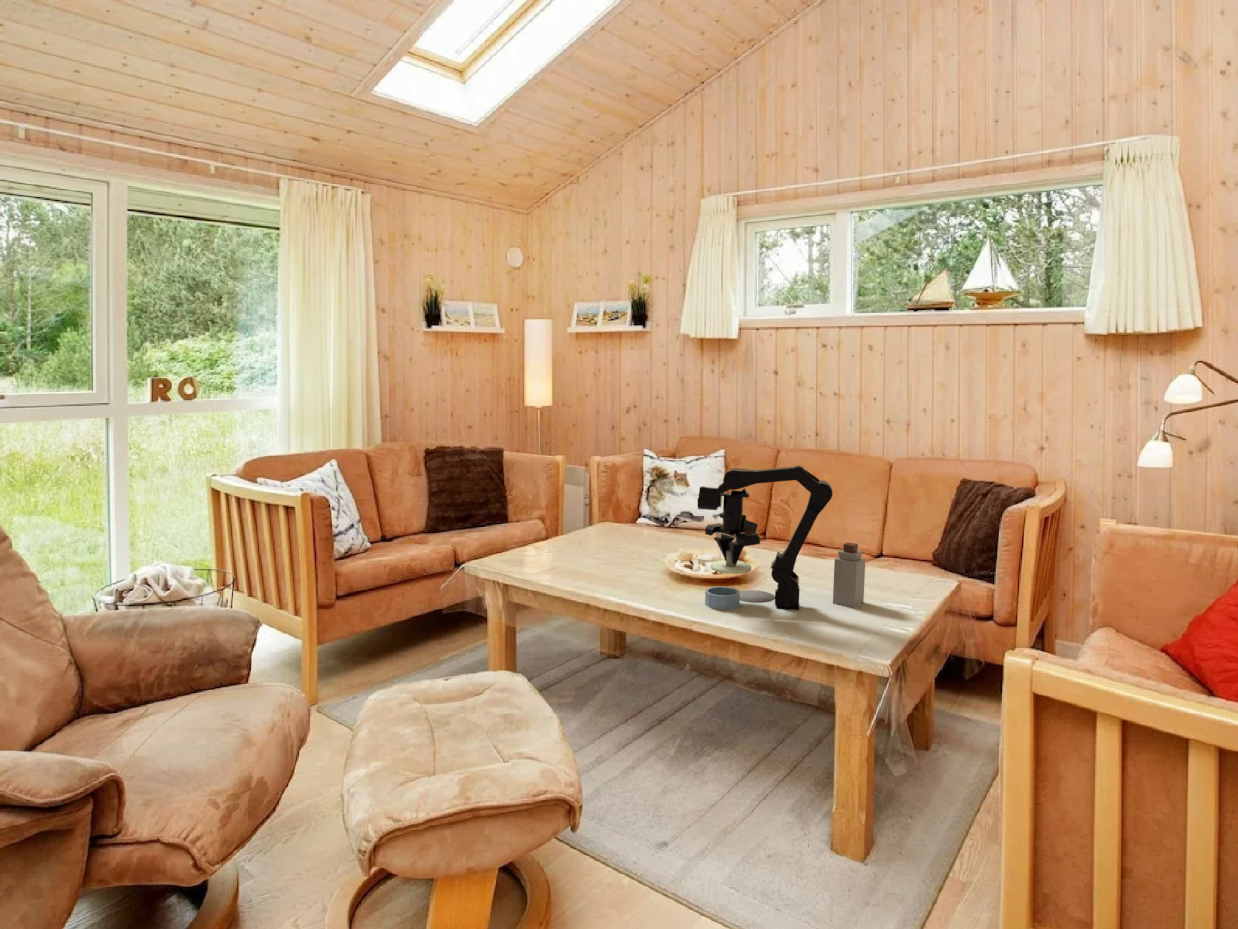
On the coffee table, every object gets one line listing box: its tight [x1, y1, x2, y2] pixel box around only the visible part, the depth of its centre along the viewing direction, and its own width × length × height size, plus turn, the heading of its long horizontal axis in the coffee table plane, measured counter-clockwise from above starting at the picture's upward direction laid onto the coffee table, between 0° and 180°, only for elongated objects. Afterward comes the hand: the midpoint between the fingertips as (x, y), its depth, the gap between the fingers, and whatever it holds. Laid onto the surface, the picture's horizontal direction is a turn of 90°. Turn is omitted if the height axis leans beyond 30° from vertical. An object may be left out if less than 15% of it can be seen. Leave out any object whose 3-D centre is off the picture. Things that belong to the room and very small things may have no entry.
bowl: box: [704, 585, 741, 610], centre depth 228 cm, size 10×10×4 cm
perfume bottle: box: [832, 542, 866, 608], centre depth 230 cm, size 7×7×18 cm
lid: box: [710, 550, 752, 575], centre depth 229 cm, size 12×12×5 cm
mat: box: [739, 589, 775, 604], centre depth 236 cm, size 13×13×1 cm
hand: (731, 562), depth 229 cm, fingers closed on lid, 3 cm apart
